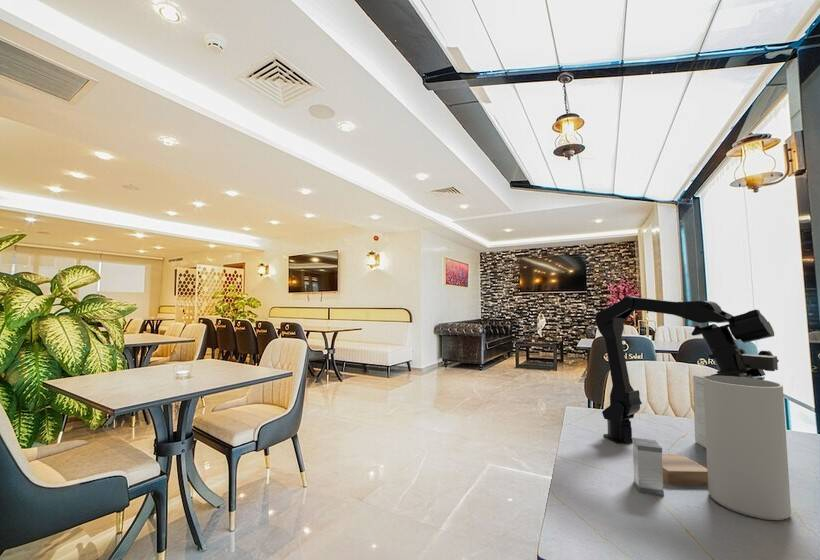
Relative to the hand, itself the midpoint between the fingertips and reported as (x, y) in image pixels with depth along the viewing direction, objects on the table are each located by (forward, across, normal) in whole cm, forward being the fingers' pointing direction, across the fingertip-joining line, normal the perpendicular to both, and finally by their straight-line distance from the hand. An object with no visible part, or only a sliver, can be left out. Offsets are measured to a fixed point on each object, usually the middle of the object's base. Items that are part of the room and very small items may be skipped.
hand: (755, 412), depth 88 cm
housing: (+10, -27, +17) cm, 33 cm away
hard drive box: (+11, +14, +15) cm, 24 cm away
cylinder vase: (+16, -17, +4) cm, 23 cm away
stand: (+10, -14, +17) cm, 24 cm away
